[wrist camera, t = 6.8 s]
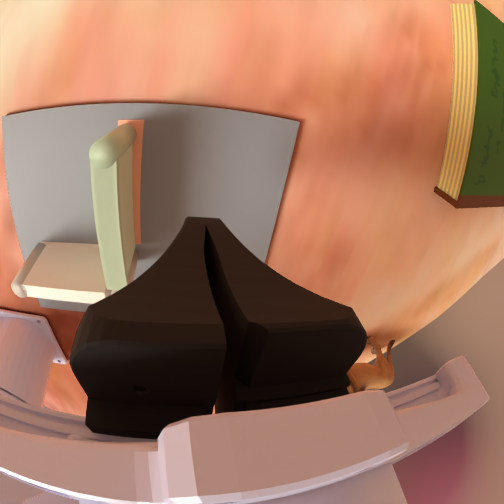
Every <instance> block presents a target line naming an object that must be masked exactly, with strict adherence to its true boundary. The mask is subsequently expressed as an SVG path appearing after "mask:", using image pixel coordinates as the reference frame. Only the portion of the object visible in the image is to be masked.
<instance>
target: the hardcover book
mask: <svg viewBox="0 0 504 504" xmlns="http://www.w3.org/2000/svg"><path fill="white" fill-rule="evenodd" d="M450 7H451V18H452V33H453V78H452V94H451V106H450V115H449V123H448V131H447V137H446V144H445V149H444V155H443V160H442V165H441V170H440V175H439V179H438V184H437V187H435V189H434V192H435V193H436V194H438V195H439V196H441V197H442V198H443V199H445V200H446V201H447V202H449V203H450V204H452V205H453V206H454V207H456V208H457V209H458V208H478V207H502V206H504V23H503V22H501V21H500V20H499V19H498V18H497V17H496V16H495V15H494V14H492V13H491V12H490V11H489V10H488V9H486V8H485V7H484V6H483V5H481V4H480V3H479V2H478V1H476V0H474V4H450Z"/></svg>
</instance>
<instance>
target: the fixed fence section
mask: <svg viewBox="0 0 504 504" xmlns="http://www.w3.org/2000/svg"><path fill="white" fill-rule="evenodd" d="M138 258H139V254H138V252H137V251H136V250H135V251H134V254H133V258H132V262H131V266H130V269H129V273H128V283H129V284H130V283H131V282H133V280H134V275H135V271H136V266H137V262H138ZM11 288H12V290H13V292H14V293H15V294H16V295H17V296H19V297H22V298H25V297H26V296H29V297H36V298H44V299H52V300H61V301H70V302H80V303H90V304H94V303H96V302H98V301H100V300H102V299H104V298H106V297H108V296H109V295H110V291H111V290H107V287H106V282H105V278H104V273H103V268H102V262H101V257H100V251H99V248H87V247H68V246H50V245H45V244H43V243H41V242H40V243H38V244H37V245H36V246H35V248H34V249H33V251H32V252H31V254H30V255H29V257H28V258H27V260H26V261H25V263H24V264H23V266H22V267H21V269H20V271H19V272H18V274H17V275H16V277H15V279H14V280H13V282H12V284H11ZM117 291H119V290H112V292H111V295H112V294H113V293H115V292H117Z"/></svg>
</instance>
